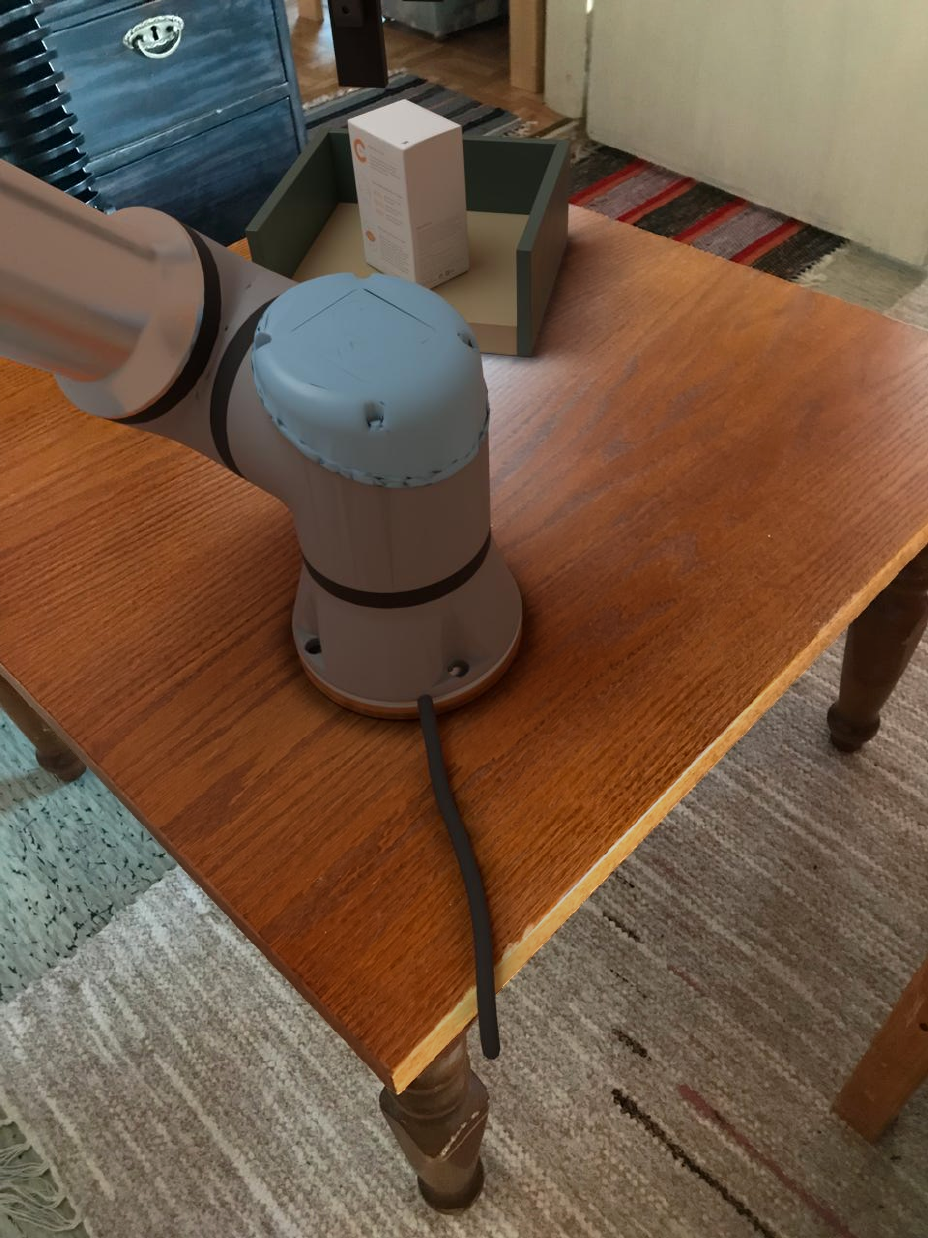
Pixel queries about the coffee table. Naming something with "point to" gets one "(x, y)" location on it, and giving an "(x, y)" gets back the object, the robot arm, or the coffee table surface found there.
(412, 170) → the small box
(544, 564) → the coffee table surface
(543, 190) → the green open tray
